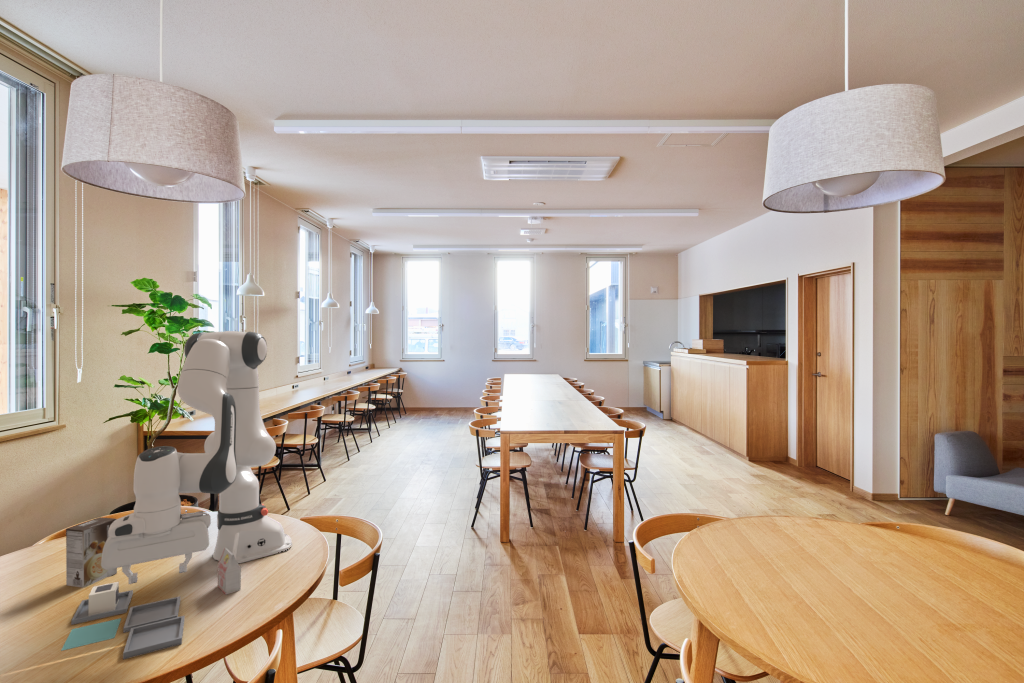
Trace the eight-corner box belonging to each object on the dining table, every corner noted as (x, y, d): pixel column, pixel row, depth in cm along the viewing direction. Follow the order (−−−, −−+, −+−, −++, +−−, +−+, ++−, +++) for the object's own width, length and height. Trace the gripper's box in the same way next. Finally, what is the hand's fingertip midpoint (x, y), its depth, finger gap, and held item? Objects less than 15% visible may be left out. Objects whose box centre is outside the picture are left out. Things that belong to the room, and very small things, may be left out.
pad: (121, 619, 116) (121, 618, 116) (114, 639, 108) (114, 637, 108) (72, 630, 112) (72, 629, 112) (60, 652, 104) (60, 650, 104)
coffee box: (99, 571, 140) (100, 516, 140) (117, 573, 139) (118, 518, 139) (64, 586, 131) (65, 528, 131) (83, 589, 130) (84, 530, 130)
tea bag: (232, 581, 135) (232, 545, 135) (240, 589, 131) (240, 553, 131) (217, 585, 133) (217, 549, 133) (225, 594, 128) (225, 557, 128)
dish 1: (132, 595, 127) (132, 589, 127) (126, 614, 119) (126, 608, 119) (82, 605, 122) (82, 600, 122) (71, 626, 113) (71, 620, 113)
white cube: (119, 600, 124) (119, 580, 124) (115, 610, 119) (115, 589, 119) (93, 606, 121) (93, 585, 121) (88, 616, 117) (88, 594, 117)
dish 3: (184, 621, 116) (184, 615, 116) (181, 644, 107) (181, 637, 107) (130, 634, 110) (131, 628, 110) (123, 659, 102) (123, 652, 102)
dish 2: (180, 601, 124) (180, 596, 124) (177, 621, 116) (177, 615, 116) (130, 612, 119) (130, 607, 119) (123, 634, 110) (123, 628, 110)
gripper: (210, 505, 120) (211, 560, 120) (104, 522, 109) (105, 582, 110) (210, 513, 115) (211, 570, 115) (99, 532, 104) (100, 595, 104)
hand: (158, 576), depth 112 cm, fingers open, 8 cm apart
